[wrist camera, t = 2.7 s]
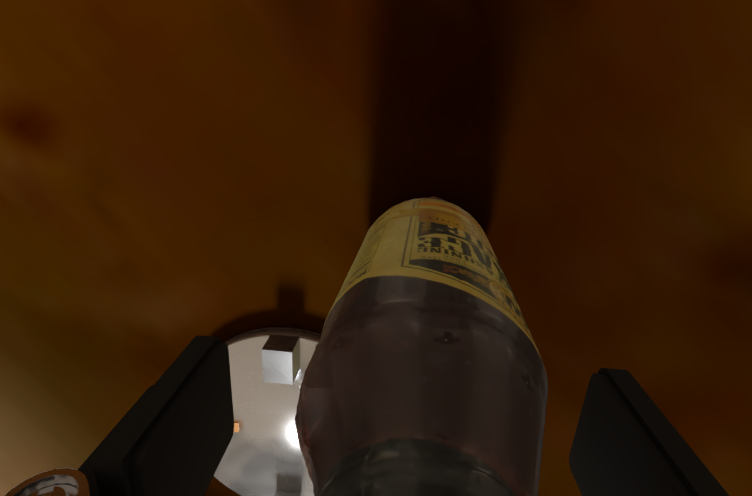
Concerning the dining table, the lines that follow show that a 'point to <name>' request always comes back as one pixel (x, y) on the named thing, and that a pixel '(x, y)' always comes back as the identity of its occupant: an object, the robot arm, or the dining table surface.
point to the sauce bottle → (424, 368)
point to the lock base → (267, 412)
